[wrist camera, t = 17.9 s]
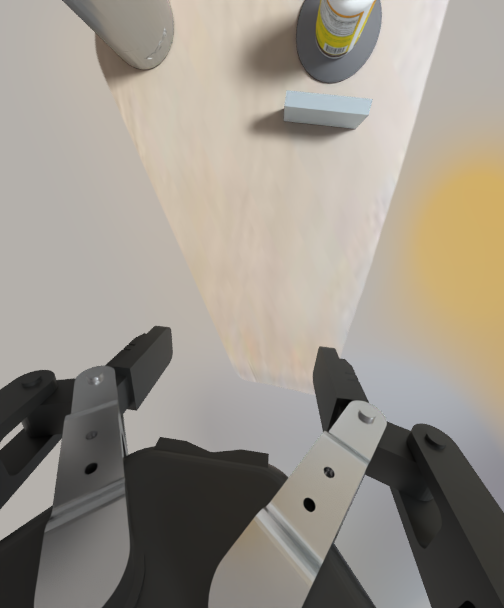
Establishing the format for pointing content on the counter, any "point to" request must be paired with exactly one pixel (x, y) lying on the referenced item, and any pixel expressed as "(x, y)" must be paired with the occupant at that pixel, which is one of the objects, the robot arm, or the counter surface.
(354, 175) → the counter surface
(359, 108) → the low wall
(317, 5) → the resting mat
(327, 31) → the supplement bottle
